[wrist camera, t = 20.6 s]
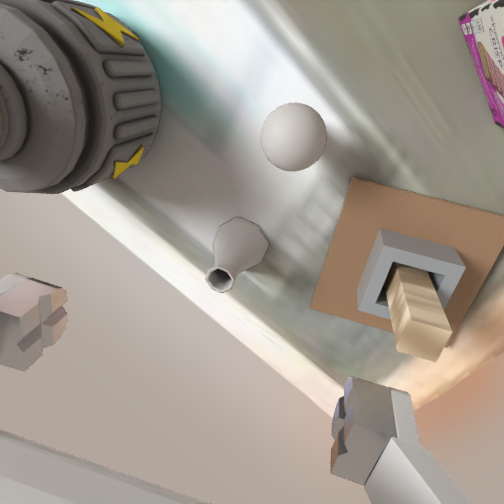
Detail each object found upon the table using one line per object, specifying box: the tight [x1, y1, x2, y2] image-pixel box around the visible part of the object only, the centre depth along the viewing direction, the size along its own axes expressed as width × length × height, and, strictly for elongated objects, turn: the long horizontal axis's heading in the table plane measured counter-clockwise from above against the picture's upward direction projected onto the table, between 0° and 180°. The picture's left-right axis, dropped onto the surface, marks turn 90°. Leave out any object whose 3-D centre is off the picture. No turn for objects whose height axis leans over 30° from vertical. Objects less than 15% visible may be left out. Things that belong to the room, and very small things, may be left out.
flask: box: [205, 217, 269, 293], centre depth 47 cm, size 7×7×10 cm
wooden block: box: [384, 262, 452, 362], centre depth 40 cm, size 4×4×14 cm
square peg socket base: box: [310, 177, 504, 348], centre depth 45 cm, size 18×18×6 cm
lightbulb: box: [261, 103, 327, 171], centre depth 38 cm, size 6×6×11 cm
